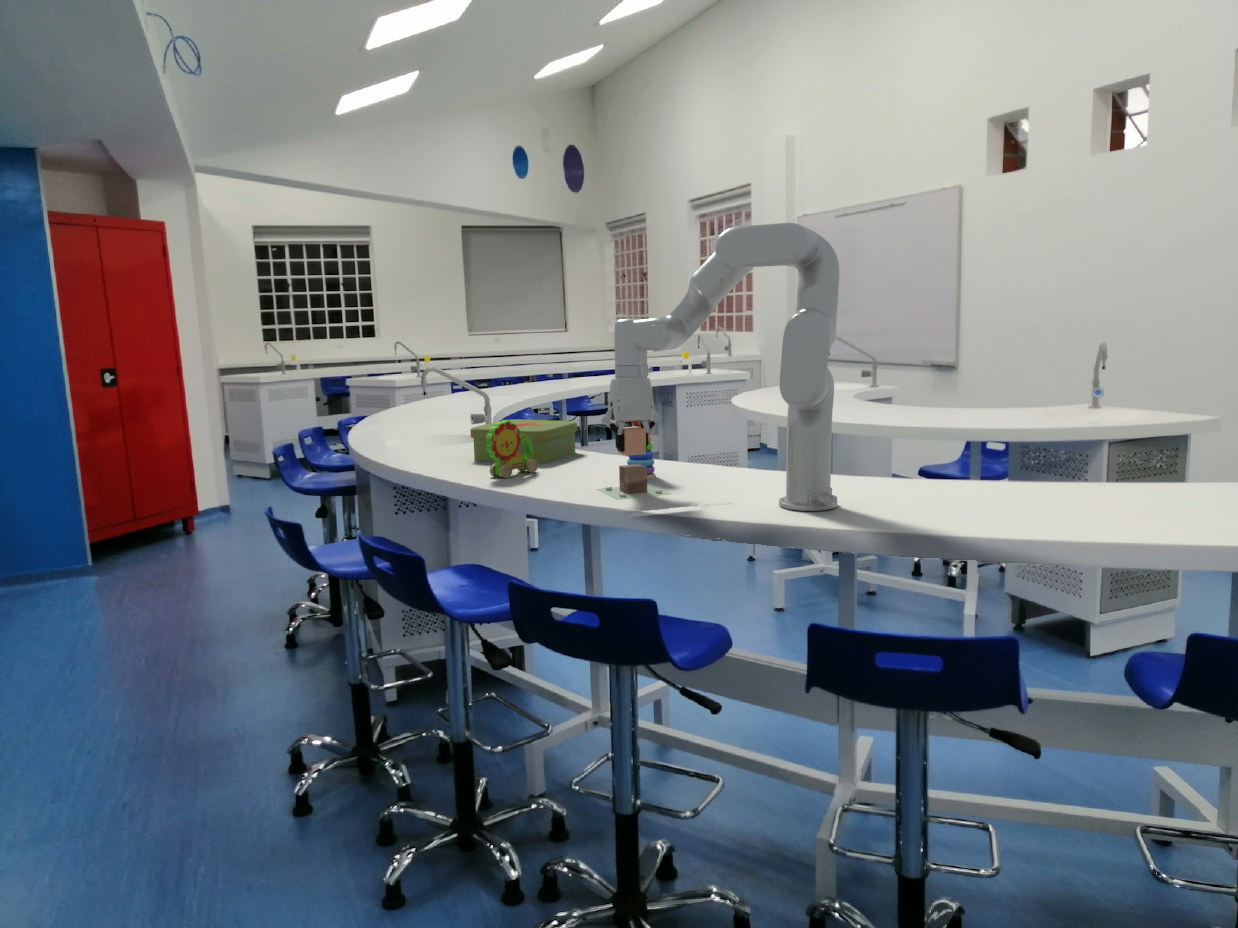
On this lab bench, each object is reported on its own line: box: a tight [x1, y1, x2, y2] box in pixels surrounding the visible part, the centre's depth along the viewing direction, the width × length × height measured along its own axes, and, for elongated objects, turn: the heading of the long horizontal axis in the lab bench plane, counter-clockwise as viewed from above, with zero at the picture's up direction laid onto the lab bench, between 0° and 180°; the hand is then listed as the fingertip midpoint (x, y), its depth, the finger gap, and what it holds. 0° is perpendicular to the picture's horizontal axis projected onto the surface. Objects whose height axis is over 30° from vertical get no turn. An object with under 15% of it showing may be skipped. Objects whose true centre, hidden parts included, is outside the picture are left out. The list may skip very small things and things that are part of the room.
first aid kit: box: [470, 418, 578, 465], centre depth 273 cm, size 26×26×10 cm
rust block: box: [617, 426, 646, 457], centre depth 207 cm, size 5×5×6 cm
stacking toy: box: [626, 420, 657, 480], centre depth 226 cm, size 8×8×19 cm
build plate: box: [595, 483, 673, 501], centre depth 209 cm, size 14×14×2 cm
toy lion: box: [486, 419, 539, 479], centre depth 239 cm, size 16×5×15 cm, turn 141°
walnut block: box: [618, 464, 648, 494], centre depth 208 cm, size 5×5×6 cm
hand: (632, 449), depth 207 cm, fingers closed on rust block, 5 cm apart
